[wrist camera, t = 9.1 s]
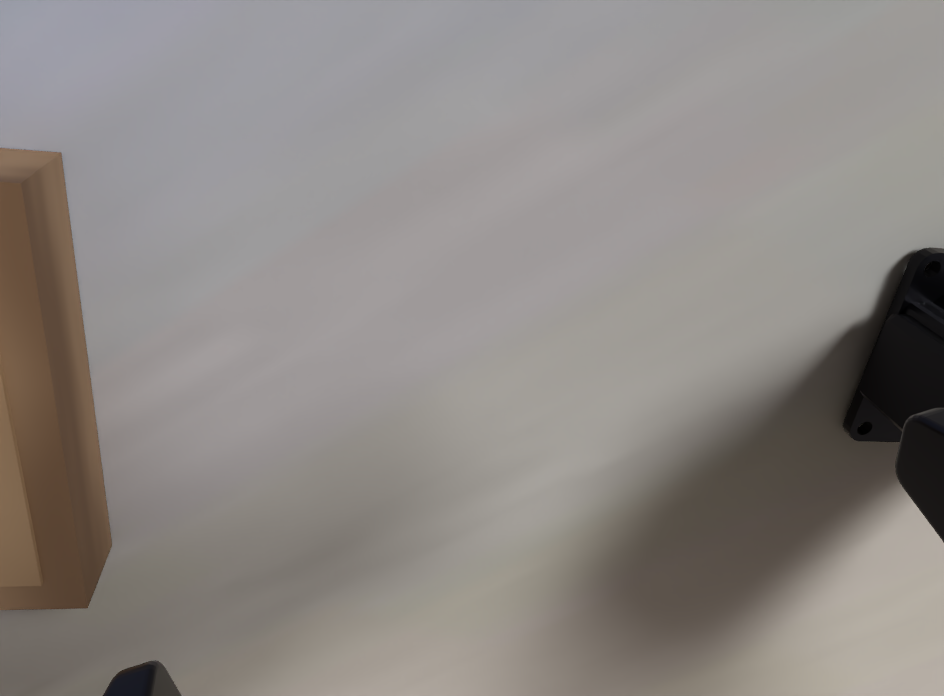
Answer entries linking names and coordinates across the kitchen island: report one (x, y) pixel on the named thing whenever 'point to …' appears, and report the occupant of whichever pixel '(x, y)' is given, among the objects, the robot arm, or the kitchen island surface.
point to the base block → (45, 400)
